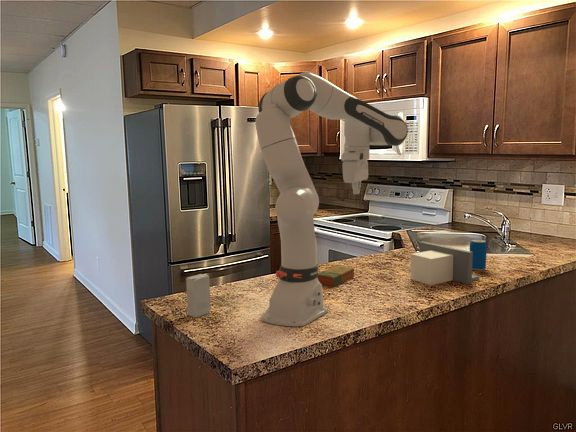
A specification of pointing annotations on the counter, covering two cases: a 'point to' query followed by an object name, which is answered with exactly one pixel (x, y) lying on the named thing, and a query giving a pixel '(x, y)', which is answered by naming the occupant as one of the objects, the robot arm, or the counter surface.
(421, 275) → the block
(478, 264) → the beverage can
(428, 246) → the grey stand
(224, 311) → the counter surface
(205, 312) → the skincare box
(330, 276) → the carton
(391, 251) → the counter surface
